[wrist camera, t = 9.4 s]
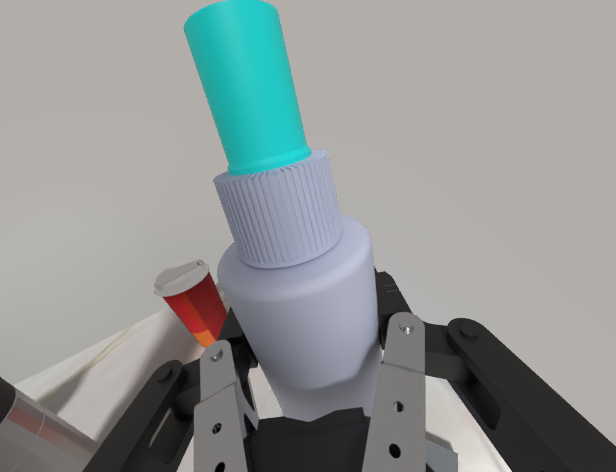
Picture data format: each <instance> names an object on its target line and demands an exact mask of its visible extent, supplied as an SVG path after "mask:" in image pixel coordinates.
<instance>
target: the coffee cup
mask: <svg viewBox="0 0 616 472" xmlns="http://www.w3.org/2000/svg"><path fill="white" fill-rule="evenodd" d="M154 287H155V290H154V292H155V294H156V295H159V296H162V297H163V298H164V300H165V301H166V302H167V303H168V305H169V306H170V307H171V308H172V310H173V311H174V312H175V313H176V315H177V316H178V317H179V318H180V320H181V321H182V322H183V323H184V325H185V326H186V327H187V328H188V329H189V331H190V332H191V333H192V334H193V336H194V337H195V338H196V339H197V340H198V342H199V343H200V344H201V345H202V346H204V347H206V348H207V347H208V346H209V345H211V344H212V343H214V342H216V341H217V339H218V336H219V334H220V332H221V329H222V327H223V324H224V322H225V319H226V317H227V312H226V310H225V307H224V305H223V303H222V300H221V298H220V296H219V293H218V291H217V289H216V286H215V284H214V281H213V279H212V277H211V275H210V273H209V265H208V264H206V263H204V262H203V261H202V260H201V259H198V258H191V259H186V260H183V261H181V262H178V263H176V264H174V265H172V266H170V267H169V268H167V269H165V270H164V271H163V272H162V273H161V274H160V275H159V276H158V277H157V278H156V281H155V285H154Z"/></svg>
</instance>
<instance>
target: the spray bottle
mask: <svg viewBox="0 0 616 472" xmlns="http://www.w3.org/2000/svg"><path fill="white" fill-rule="evenodd" d="M184 32H185V35H186V38H187V41H188V44H189V47H190V50H191V53H192V55H193V59H194V62H195V65H196V68H197V70H198V74H199V77H200V80H201V83H202V85H203V88H204V92H205V94H206V97H207V100H208V103H209V106H210V109H211V112H212V115H213V118H214V121H215V124H216V127H217V130H218V133H219V136H220V139H221V142H222V145H223V148H224V151H225V154H226V157H227V160H228V163H229V166H228V171H227V172H224V173H223V174H221V175H218V176H217V177H215V178H214V180H213V181H214V183H215V186H216V189H217V192H218V195H219V198H220V200H221V204H222V207H223V209H224V212H225V215H226V218H227V221H228V224H229V227H230V230H231V232H232V235H233V238H234V241H235V242H234V243H233V244H232V245H231V246H230V247H229V248H228V249H227V250H226V251H225V253H224V254H223V256H222V258H221V260H220V262H219V265H218V274H217V276H218V281H219V283H220V285H221V288H222V290H223V292H224V294H225V296H226V298H227V300H228V302H229V304H230V306H231V308H232V310H233V312H234V314H235V316H236V318H237V320H238V322H239V324H240V326H241V328H242V330H243V332H244V334H245V336H246V338H247V340H248V342H249V344H250V346H251V348H252V350H253V352H254V354H255V356H256V358H257V360H258V362H259V364H260V366H261V368H262V370H263V372H264V374H265V376H266V378H267V380H268V382H269V384H270V386H271V388H272V390H273V392H274V394H275V396H276V398H277V400H278V402H279V404H280V406H281V408H282V411H283V413H284V415H285V417H288V418H293V419H297V420H302V421H307V422H310V421H313V420H315V419H318V418H320V417H322V416H324V415H327V414H329V413H331V412H333V411H335V410H341V409H350V408H358V407H363V411H364V416H369V417H371V414H372V408H373V402H374V396H375V390H376V384H377V378H378V372H379V367H380V363H381V362H382V352H381V345H380V335H379V323H378V312H377V307H378V306H377V294H376V283H375V271H374V261H373V248H372V239H371V235H370V233H369V231H368V229H367V228H366V226H365V225H363V224H362V223H361V222H360V221H359V220H357V219H355V218H353V217H351V216H348V215H345V214H341V213H340V211H339V206H338V201H337V196H336V192H335V187H334V182H333V177H332V172H331V167H330V163H329V158H328V153H327V151H323V150H315V151H314V150H313V151H311V150H310V148H309V147H308V146H307V144H306V139H305V135H304V130H303V125H302V121H301V116H300V112H299V107H298V103H297V98H296V93H295V89H294V84H293V79H292V75H291V70H290V66H289V61H288V56H287V52H286V47H285V42H284V38H283V33H282V29H281V24H280V19H279V15H278V11H277V9H276V8H275V7H274V6H272V5H271V4H269V3H266V2H263V1H259V0H228V1H223V2H219V3H215V4H212V5H209V6H207V7H204V8H202V9H200V10H199V11H197V12H195V13H194V14H193V15H191V16H190V17H189V18H188V20H187V21H186V23H185V25H184Z"/></svg>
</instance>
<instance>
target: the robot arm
mask: <svg viewBox="0 0 616 472" xmlns="http://www.w3.org/2000/svg"><path fill="white" fill-rule="evenodd" d="M374 271H375V283H376V294H377V306H378V307H377V312H378V323H379V335H380V345H381V348H382V350H384V356H383V361H382V362H381V363H380V367H379V372H378V378H377V384H376V390H375V396H374V402H373V408H372V414H371V417H369V416H364V411H363V407H358V408H350V409H341V410H335V411H333V412H331V413H329V414H327V415H324V416H322V417H320V418H318V419H315V420H313V421H310V422H307V421H302V420H297V419H293V418H288V417H276V418H267V419H259V416H258V413H257V408H256V404H255V400H254V396H253V391H252V387H251V383H250V379H249V377H248V373H249V369H250V368H256V367H257V366H258V360H257V358H256V356H255V354H254V352H253V350H252V348H251V346H250V344H249V342H248V340H247V338H246V336H245V334H244V332H243V330H242V328H241V326H240V324H239V322H238V320H237V318H236V316H235V314H234V312H233V310H232V308H231V307H230V309H229V312H228V314H227V317H226V319H225V322H224V324H223V327H222V329H221V332H220V334H219V336H218V339H217V341H216V342H214V343H212V344H211V345H209V346H208V347H207V348H206V349H205V350H204V352H203V353H202V355H201V358H199V359H197V360H195V361H193V362H190V363H188V364H186V365H184V366H183V365H182V363H181V362H180V361H178V360H172V361H169V362H167V363H165V364H163V365H162V366H160V367H159V368H158V369H157V370H156V371H155V372H154V373H153V375H152V376H151V377H150V379H149V380H148V381H147V383H146V384H145V386H144V387H143V388H142V390H141V391H140V392H139V394H138V395H137V397H136V398H135V399H134V401H133V402H132V403H131V405H130V406H129V408H128V409H127V410H126V412H125V413H124V414H123V416H122V417H121V419H120V420H119V421H118V423H117V424H116V425H115V427H114V428H113V430H112V431H111V432H110V434H109V435H108V436H107V438H106V439H105V441H104V442H103V443H102V445H100V444H99V443H97V442H96V441H94V440H93V439H91V438H90V437H88V436H87V435H85V434H84V433H82V432H81V431H79V430H78V429H76V428H75V427H73V426H72V425H70V424H69V423H67V422H66V421H64V420H63V419H62V418H60V417H59V416H57V415H56V414H54V413H53V412H51V411H50V410H48V409H47V408H45V407H44V406H42V405H41V404H39V403H37V402H36V401H34V400H33V399H31V398H30V397H28V396H27V395H25V394H24V393H22V392H21V391H19V390H18V389H16V388H15V387H13V386H12V385H11V384H9V383H8V382H6V381H5V380H3V379H2V378H1V377H0V472H176V471H177V469H178V467H179V465H180V463H181V460H182V458H183V456H184V454H185V452H186V450H187V447H188V445H189V443H190V441H191V439H192V437H193V434H194V472H435V471H434V470H433V469H432V468H431V467H430V466H429V465H428V464H427V463H426V450H425V375H427V376H432V377H437V378H442V379H447V381H448V382H449V383H450V385H451V386H452V388H453V389H454V391H455V392H456V393H457V395H458V396H459V398H460V399H461V400H462V402H463V403H464V405H465V406H466V407H467V409H468V410H469V412H470V413H471V414H472V416H473V417H474V419H475V420H476V422H477V423H478V424H479V426H480V427H481V429H482V430H483V431H484V433H485V434H486V436H487V437H488V438H489V440H490V441H491V443H492V444H493V445H494V447H495V448H496V450H497V451H498V452H499V454H500V455H501V457H502V458H503V459H504V461H505V462H506V464H507V465H508V466H509V468H510V469H511V471H512V472H616V446H615V445H613V444H612V443H611V442H610V441H609V440H608V439H607V438H606V437H605V436H604V435H603V434H601V433H600V432H599V431H598V430H597V429H596V428H595V427H594V426H593V425H592V424H590V423H589V422H588V421H587V420H586V419H585V418H584V417H583V416H582V415H581V414H579V413H578V412H577V411H576V410H575V409H574V408H573V407H572V406H571V405H570V404H568V403H567V402H566V401H565V400H564V399H563V398H562V397H561V396H560V395H558V394H557V393H556V392H555V391H554V390H553V389H552V388H551V387H550V386H549V385H548V384H547V383H546V382H544V381H543V380H542V379H541V378H540V377H539V376H538V375H537V374H536V373H535V372H533V371H532V370H531V369H530V368H529V367H528V366H527V365H526V364H525V363H524V362H522V361H521V360H520V359H519V358H518V357H517V356H516V355H515V354H514V353H512V352H511V351H510V350H509V349H508V348H507V347H506V346H505V345H504V344H503V343H502V342H501V341H499V340H498V339H497V338H496V337H495V336H494V335H493V334H492V333H491V332H490V331H489V330H487V329H486V328H485V327H484V326H483V325H481V324H480V323H478V322H476V321H474V320H471V319H466V318H456V319H453V320H451V321H450V322H449V324H448V326H443V325H435V324H429V323H426V322H424V321H422V320H421V319H420V318H419V317H418V316H416V315H414V314H413V313H412V312H411V310H410V308H409V306H408V304H407V303H406V301H405V299H404V298H403V296H402V294H401V292H400V291H399V288H398V287H397V285H396V283H395V281H394V279H393V278H392V276H390V275H389V274H387V273H386V272H385V271H384V272H379V273H377V271H376V268H375V266H374ZM167 411H169V412H170V414H169V415H168V417H167V419H166V421H165V422H164V424H163V426H162V428H161V429H160V431H159V433H158V435H157V436H156V438H155V440H154V442H153V443H152V445H151V447H150V448H149V445H150V441H151V439H152V436H153V435H154V433H155V431H156V430H157V428H158V426H159V424H160V423H161V421H162V419H163V418H164V416H165V414H166V413H167Z"/></svg>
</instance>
